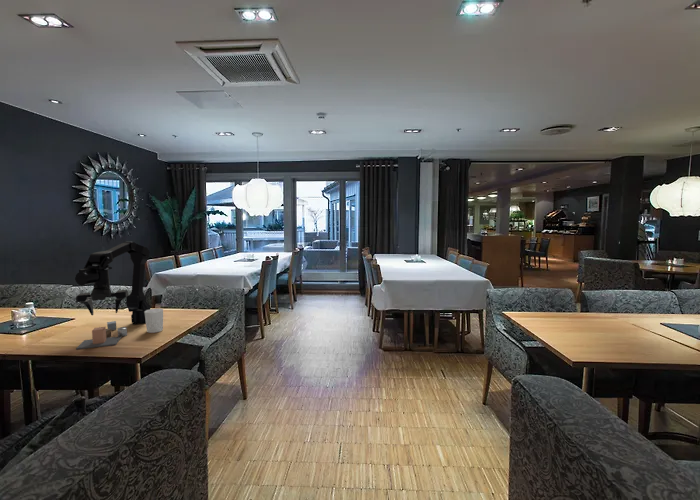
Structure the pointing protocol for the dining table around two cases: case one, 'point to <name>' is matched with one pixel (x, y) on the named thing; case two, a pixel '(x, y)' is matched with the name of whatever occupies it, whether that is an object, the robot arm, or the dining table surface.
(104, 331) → the terracotta block
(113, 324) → the slate block
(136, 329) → the dining table surface
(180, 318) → the dining table surface
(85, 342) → the charcoal mat
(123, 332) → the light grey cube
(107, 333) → the walnut block
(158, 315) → the white cup
